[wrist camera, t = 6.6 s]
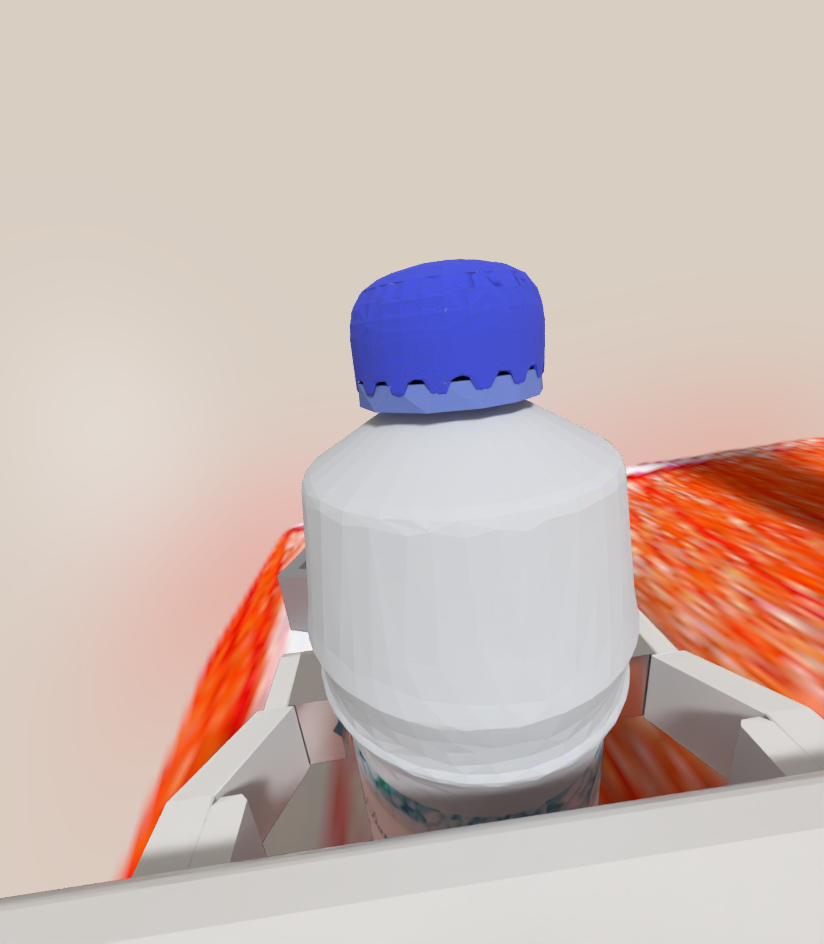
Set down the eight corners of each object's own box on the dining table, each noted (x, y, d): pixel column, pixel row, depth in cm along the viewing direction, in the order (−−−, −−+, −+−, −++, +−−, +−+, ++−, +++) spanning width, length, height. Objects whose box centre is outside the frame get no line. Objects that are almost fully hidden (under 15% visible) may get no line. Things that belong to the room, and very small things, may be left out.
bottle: (365, 861, 15) (242, 298, 9) (517, 789, 17) (509, 280, 11) (428, 1202, 9) (173, 179, 3) (653, 1033, 11) (831, 185, 4)
